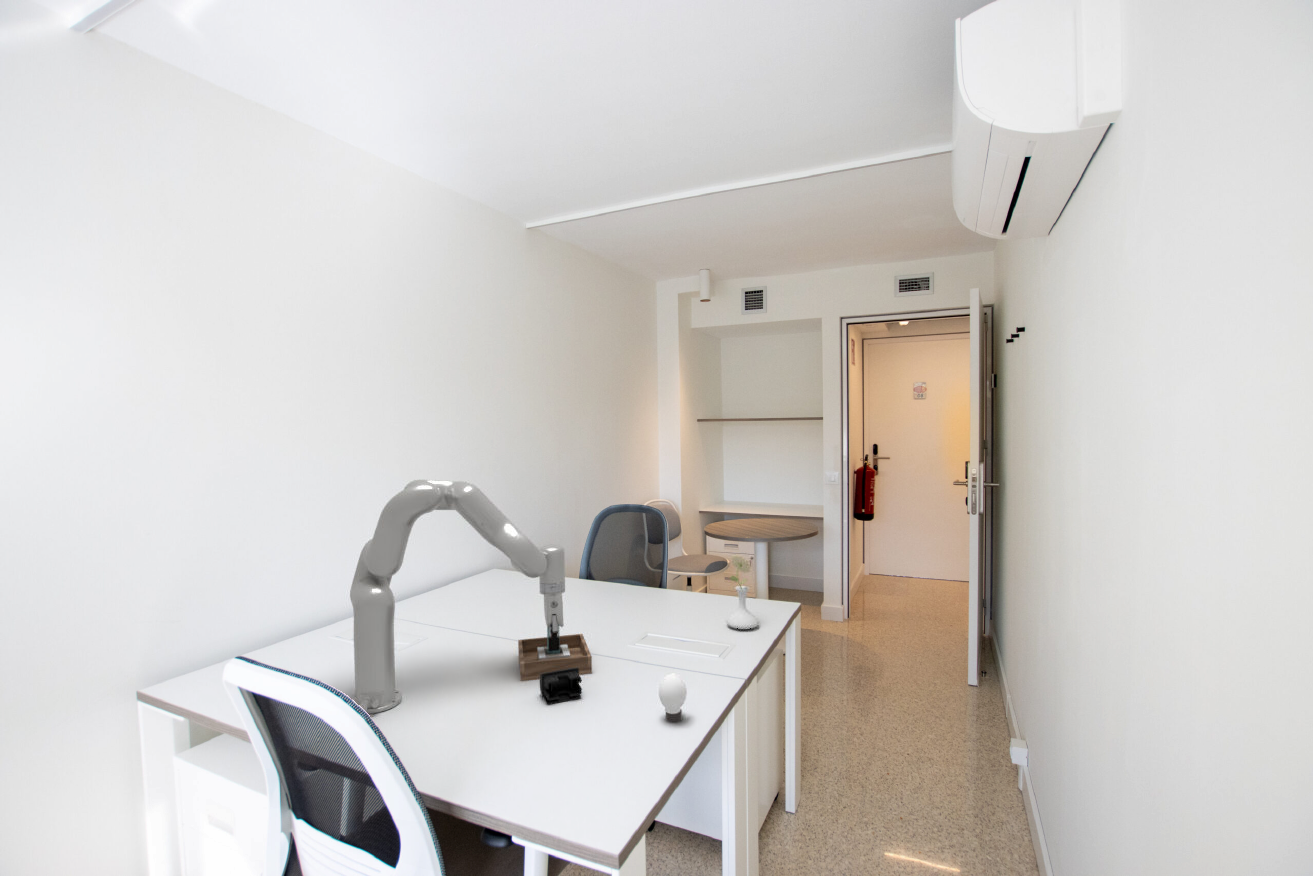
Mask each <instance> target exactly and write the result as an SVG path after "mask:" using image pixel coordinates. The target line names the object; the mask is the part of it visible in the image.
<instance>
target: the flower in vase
mask: <svg viewBox="0 0 1313 876" xmlns="http://www.w3.org/2000/svg"><path fill="white" fill-rule="evenodd" d="M730 560H731V563H732V565H733V566H734V567H735V569H736V570H737V571H736V574H735V575H736V576H734V575H731V577H730V580H732V581H734V582H736V583H738V585H737V586H735V587H734V589H735V590H736V592H737V595H738V601H739V602H738V609H736V610H735V611H734V612H733V613H732V614H731V615H729V616H728V617H727V618H726V621H725V623H726V624H727V626H729V627H731V628H734V629H737V628H738V630H750V628H751V629H755V628H756V627H758V625H759V624H760V621H759V619H758V618H757V617H756V616H755V615H754V614H753V613H751V612H750V611H749V610H748V609H747V607H746V606H747V605H746V604H747V603H746V599H747V593H748V592H749V590H750V587H749V586H745V585H741V584H744V583H745V582H747V581H749V580H748V578H747V579H745V580H742V581H741V582H740V581H739V577H738V573H739V571H740V572H742V573H748V572H751V564H750V563H749V560H748V559H747V558H746V557H743V555H739V554H734V555H732V556H731V558H730Z"/></svg>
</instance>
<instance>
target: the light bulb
mask: <svg viewBox="0 0 1313 876" xmlns="http://www.w3.org/2000/svg"><path fill="white" fill-rule="evenodd" d="M658 696H659V700H660V702H661V703H660V704H661V705H662V706H663V707H664V711H665V720H666V721H667V722H669V723H679V722H681V721H682V718H683V715H682V714H683V713H682V712H683V711H682V710H683V709H682V708H681V707H683V705H684V704H685V701H686V699H687V686H686V682H685V681H684V679H683V678H682V677H681V676H680V675H679V674H677V673H672V672H671V673H668V674H666V675H665V676H664V677H663V678H662V679H661V681H660V683H659V686H658Z"/></svg>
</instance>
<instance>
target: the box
mask: <svg viewBox="0 0 1313 876" xmlns="http://www.w3.org/2000/svg"><path fill="white" fill-rule="evenodd" d="M559 636H560V654H551V655H548V646H547V636H546V637H545V636H544V637H536V638H535V637H533V638H526V639H525V638H524V639H518V641H517V646H518V647H517V648H518V652H517V653H518V664H519V665H518V666H519V676H520V682H527V681H534V680H535V681H536V680H540V675H541V673H546V672H552V671H558V670H564V669H570V668H576V667H577V668H579V675H580V676H581V675H590V674H592V673H593V671H592V669H593V668H592V666H593V665H592V659H593V658H592V654H591V651H590V650H589V649H590V648H589V647H588V644H587V642H586V639H585V636H584V634H583V633H577V634H567V635H566V634H565V635H559Z"/></svg>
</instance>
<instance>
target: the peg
mask: <svg viewBox="0 0 1313 876" xmlns="http://www.w3.org/2000/svg"><path fill="white" fill-rule="evenodd" d="M558 625H559V623H558ZM550 627H552V625H550ZM546 629H547V630H546V633H547V634H546V637H547V646H548V637H549V628H548V627H547V626H546ZM551 631H552V629H551ZM560 636H561V635H559V644H560ZM551 654H560V649H559V650H556V651H549V647H548V655H551Z"/></svg>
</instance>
